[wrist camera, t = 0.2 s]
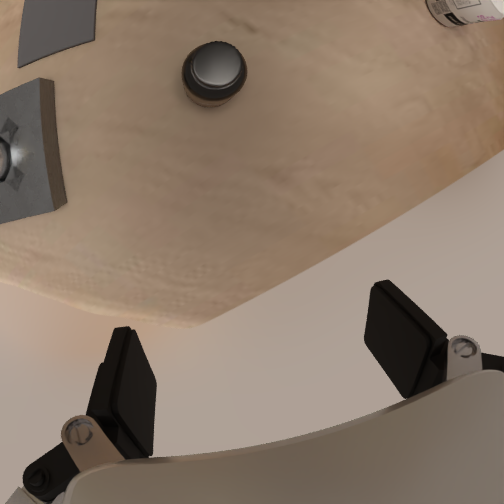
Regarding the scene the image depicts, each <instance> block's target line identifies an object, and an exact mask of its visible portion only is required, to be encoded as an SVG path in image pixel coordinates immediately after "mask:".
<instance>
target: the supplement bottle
mask: <svg viewBox="0 0 504 504" xmlns="http://www.w3.org/2000/svg"><path fill="white" fill-rule="evenodd" d="M246 78H247V65H246V61H245V59H244V57H243V56H242V54H241V53H240V52H239V51H238V49H236V48H235V46H232V45H231V44H228V43H227V42H222V41H220V42H218V41H215V42H210V43H206V44H203V45H201V46H199V47H197V48H195V49H194V50H193V51H192V52H190V54H189V55H188V56H187V57H186V59H185V61H184V63H183V67H182V80H183V85H184V89H185V92H186V94H187V96H188V97H189V98H190V100H192V101H193V102H194V103H196V104H197V105H200V106H203V107H216V106H220V105H222V104H224V103H226V102H227V101H228V100H230V99H231V98H232V97H233V96H234V95H235V94H237V93H238V92H239V91H240V89H241V88H242V87H243V85H244V83H245V81H246Z"/></svg>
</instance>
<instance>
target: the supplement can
mask: <svg viewBox="0 0 504 504" xmlns="http://www.w3.org/2000/svg"><path fill="white" fill-rule="evenodd" d="M427 4H428V7H429V10H430V11H431V13H432V15H433V16H434V17H435V18H436V19H437V20H438V21H439V22H440V23H442V24H443V25H445V26H447V27H456V26H461V25H466V24H472V23H478V22H484V21H492V20H500V19H502V18H503V17H504V0H427Z"/></svg>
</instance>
